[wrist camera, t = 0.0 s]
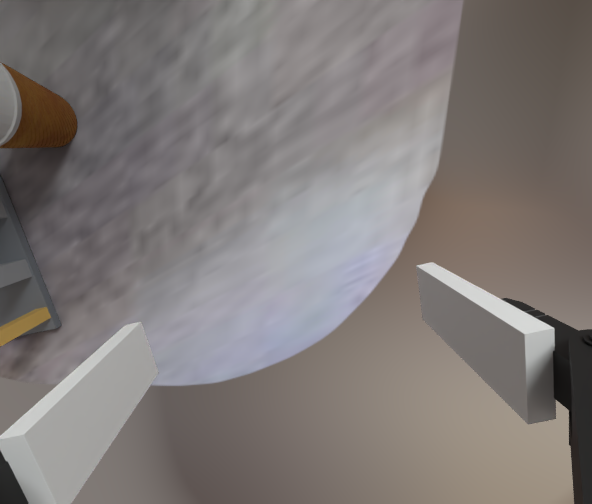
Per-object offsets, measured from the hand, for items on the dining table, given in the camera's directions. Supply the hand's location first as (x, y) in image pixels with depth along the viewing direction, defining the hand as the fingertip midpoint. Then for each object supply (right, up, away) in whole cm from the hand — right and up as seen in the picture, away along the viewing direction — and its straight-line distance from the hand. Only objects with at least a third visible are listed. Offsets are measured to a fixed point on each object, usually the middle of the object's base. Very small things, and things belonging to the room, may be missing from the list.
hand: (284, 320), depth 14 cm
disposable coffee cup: (-30, +19, +24) cm, 42 cm away
